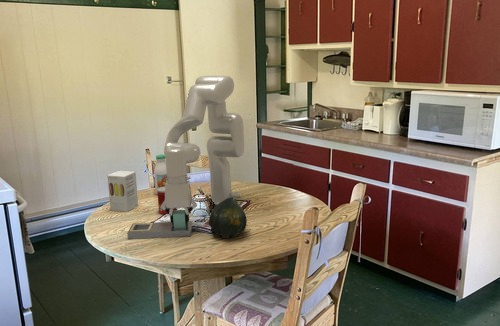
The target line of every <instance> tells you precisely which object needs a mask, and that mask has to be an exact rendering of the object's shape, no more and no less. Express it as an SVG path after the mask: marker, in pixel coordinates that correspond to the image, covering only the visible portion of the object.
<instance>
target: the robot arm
mask: <svg viewBox="0 0 500 326" xmlns="http://www.w3.org/2000/svg"><path fill="white" fill-rule="evenodd" d="M234 89H235V82H234V80H233V78H232V77H231V76H229V75H202V76H198V77H197V78H196V79H195V84H193V85H191V86H190V87H189V90H188V93H187V96H186V103H185V106H184V110H183V115H182V117H181V118H180V119H179V120H178V121H176V123H175V124H174V125H173V126H172V127H171V128H170V130H169V131H168V133H167V135H166V141H165V143H164V149H163V152H164V154H163V155H165V162H166V173H167V182H166V185H165V200H164V202H163V203H162V205H161V207H160V208H161V209H163V210H165V211H166V212H167V213H168V214H169V215H168V216H170V217H169V218H170V221H169V222H172V225H174V222H173V213H174V212H173V209H174V208H176V209H183V210H185V224H187V223H188V222H189V221H190V213H191V212H192V211H194V209H196V208H197V206H198V204H197V202H196V200H194V199H193V197H192V188H191V183H190V181H189V180H190V179H191V175H188V174H187V164H193V163H195V162H196V161H198V160H199V158H200V157H201V149H200V147H199V146H198V144H195V143H191V142H190V143H186V142H179V141H180V138H181V137H182V136H183V134H185V133H186V132H188V131H190V130H192V129H195V128H197V127H199V126H201V125H202V124H203V123H204V119H205V116H206V111H207V120H208V129H209V131H210V132H211V133H213V134H219V135H214V136H211V137H209V138H208V139H207V141H206V150H207V155H208V159H209V160H208V161H209V175H210V195H211V197H209V198H212V200H213V201H214V204H215V205H214V206H217V205H218V204H219V203H220V202H222V201H224V200H225V199H227V198H231V197H233V199H235V198H237V199H239V198H240V199H241V198H242V197H241V195H242V194H241V193H239V192H233V191H232V181H231V179H232V177H231V176H232V175H231V164H230V161H229V160H228V158H240V157H242V156H243V154H244V153H245V152H244V151H245V133H244V121H243V118H242V116H241V114H239V113H236V112H227V105H226V100H227V99H228V98H229V97H231V95H232V94H233V92H234ZM222 134H223V135H222ZM224 134H225V135H227V136H225V135H224ZM229 135H230V136H229ZM235 200H236V199H235ZM169 208H170V209H169Z"/></svg>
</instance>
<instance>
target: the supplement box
mask: <svg viewBox="0 0 500 326" xmlns="http://www.w3.org/2000/svg"><path fill="white" fill-rule="evenodd" d="M136 175H137V174H136V171H129V170H126V171H125V170H117V171H115V172H113V173H109V174H107V186H108V196H109V206H110V211H112V212H113V211H115V212H124V213H128V212H130V211H132V210H134V209H135V208H137V207H138V206H139V197H138V186H137V185H138V184H137V176H136Z"/></svg>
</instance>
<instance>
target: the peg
mask: <svg viewBox="0 0 500 326" xmlns="http://www.w3.org/2000/svg"><path fill="white" fill-rule="evenodd" d="M173 222H174V229H187V224H185V209H177V210H174V213H173Z"/></svg>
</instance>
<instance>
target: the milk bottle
mask: <svg viewBox="0 0 500 326" xmlns="http://www.w3.org/2000/svg"><path fill="white" fill-rule="evenodd" d="M155 159H156V164H155V167H154V173H153V175H154V188H155V190H154V191H155V194H156V195H157V196H158V194H157V189H158V188H160V187H165V185H166V182H167V173H166V160H165V155H164V154H157V155H155Z"/></svg>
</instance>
